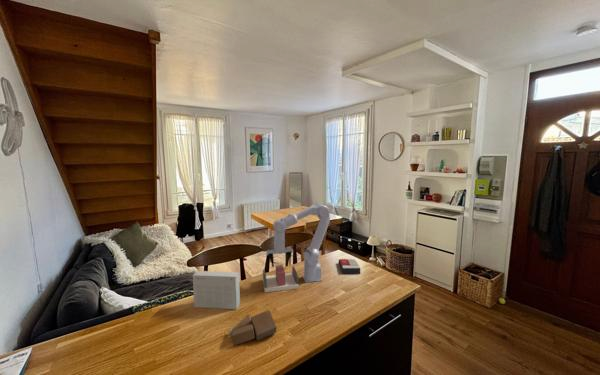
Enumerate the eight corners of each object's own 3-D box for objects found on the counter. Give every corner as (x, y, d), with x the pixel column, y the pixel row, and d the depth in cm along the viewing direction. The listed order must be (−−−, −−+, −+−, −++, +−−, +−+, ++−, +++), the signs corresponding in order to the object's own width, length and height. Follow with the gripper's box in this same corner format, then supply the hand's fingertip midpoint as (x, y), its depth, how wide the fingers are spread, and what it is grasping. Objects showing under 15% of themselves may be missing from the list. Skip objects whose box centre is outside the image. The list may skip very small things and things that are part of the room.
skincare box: (240, 303, 120) (239, 272, 118) (236, 310, 115) (235, 277, 113) (199, 300, 122) (197, 270, 120) (193, 307, 117) (191, 275, 115)
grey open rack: (293, 276, 146) (293, 265, 146) (298, 288, 133) (298, 277, 132) (262, 279, 143) (262, 268, 142) (264, 292, 129) (264, 280, 128)
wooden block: (231, 333, 104) (273, 319, 109) (231, 353, 91) (278, 336, 96) (228, 316, 104) (270, 303, 108) (227, 334, 91) (275, 318, 96)
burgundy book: (282, 276, 142) (282, 264, 141) (285, 285, 133) (285, 272, 132) (275, 277, 141) (275, 265, 140) (277, 286, 132) (277, 273, 131)
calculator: (355, 258, 164) (360, 267, 149) (354, 264, 164) (360, 274, 149) (338, 258, 164) (342, 267, 149) (338, 264, 164) (342, 274, 149)
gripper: (266, 245, 130) (267, 270, 131) (294, 243, 133) (294, 267, 134) (265, 241, 136) (266, 264, 138) (291, 239, 140) (291, 262, 141)
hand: (279, 265), depth 137 cm, fingers open, 7 cm apart
